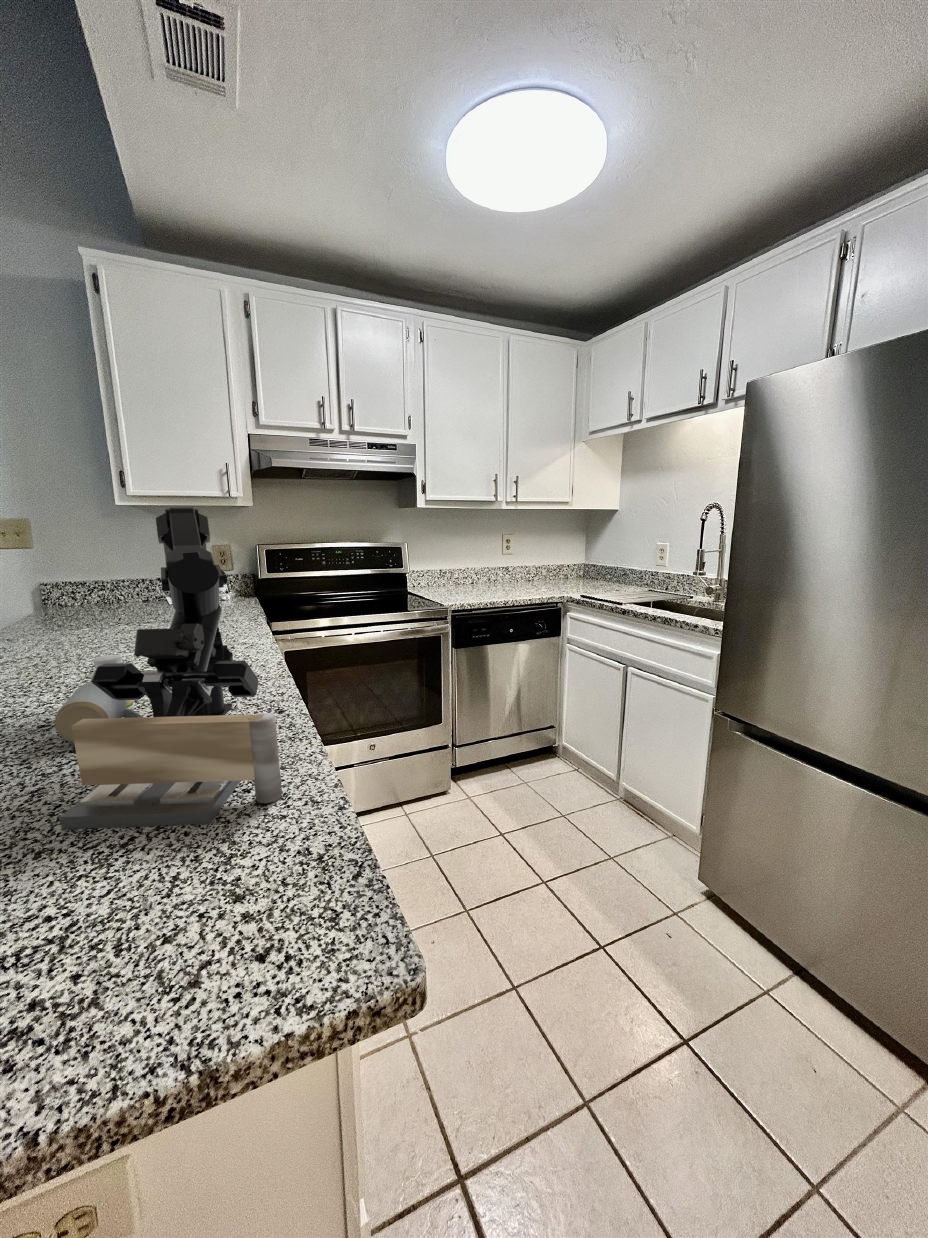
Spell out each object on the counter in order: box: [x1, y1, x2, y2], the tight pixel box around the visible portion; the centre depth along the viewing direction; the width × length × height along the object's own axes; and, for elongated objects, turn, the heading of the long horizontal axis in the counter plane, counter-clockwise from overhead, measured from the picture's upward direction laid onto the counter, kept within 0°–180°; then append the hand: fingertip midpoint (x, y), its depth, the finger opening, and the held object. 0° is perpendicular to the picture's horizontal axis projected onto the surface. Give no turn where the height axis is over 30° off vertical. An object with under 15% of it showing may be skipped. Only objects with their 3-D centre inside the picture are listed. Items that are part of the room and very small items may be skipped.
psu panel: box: [59, 781, 241, 830], centre depth 62 cm, size 12×16×2 cm
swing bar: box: [71, 712, 283, 804], centre depth 61 cm, size 3×22×10 cm, turn 93°
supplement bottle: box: [90, 654, 134, 710], centre depth 89 cm, size 5×5×10 cm
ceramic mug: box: [54, 682, 143, 744], centre depth 79 cm, size 11×8×8 cm
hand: (161, 743), depth 62 cm, fingers closed
